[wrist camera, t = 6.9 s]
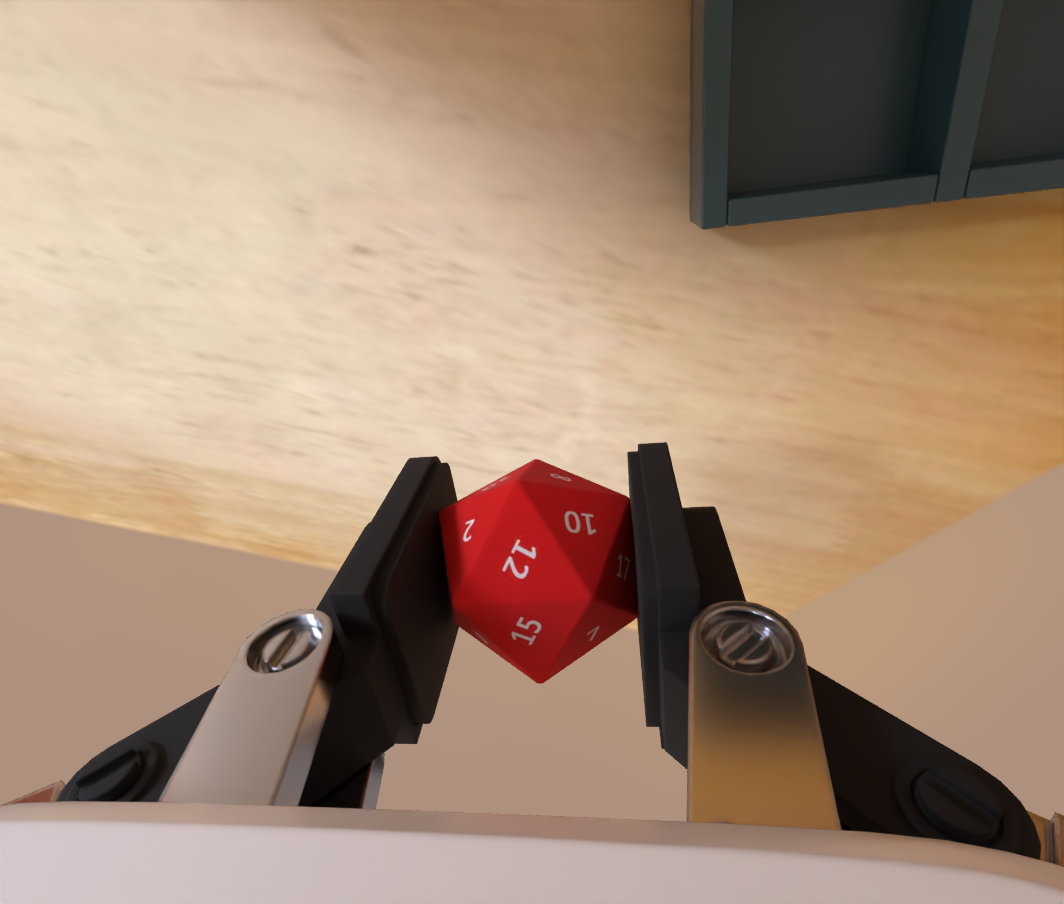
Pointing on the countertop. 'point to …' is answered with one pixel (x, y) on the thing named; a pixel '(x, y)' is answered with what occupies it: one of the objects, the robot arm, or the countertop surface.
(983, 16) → the grid
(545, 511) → the die
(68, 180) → the countertop surface
